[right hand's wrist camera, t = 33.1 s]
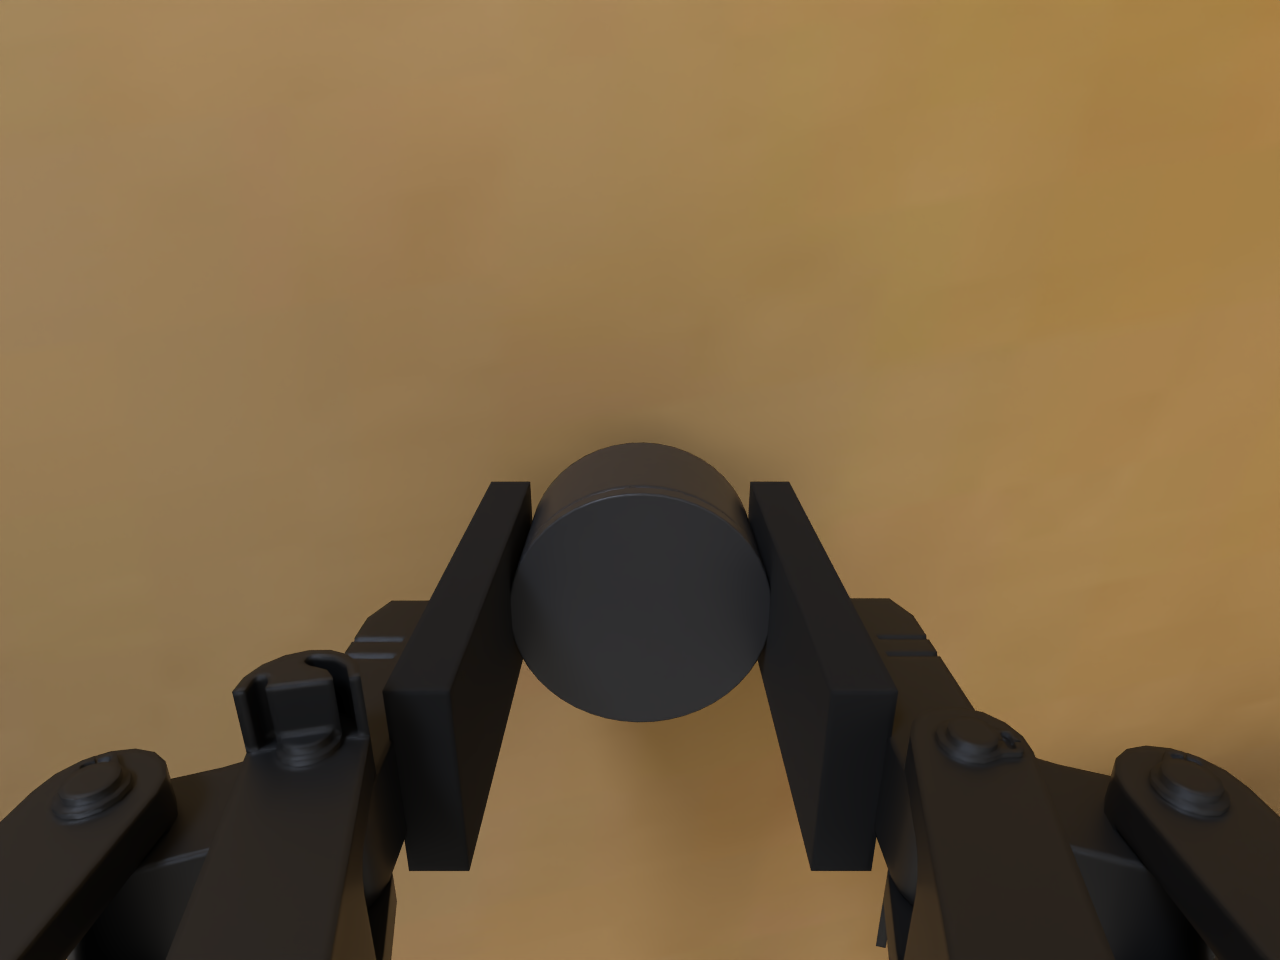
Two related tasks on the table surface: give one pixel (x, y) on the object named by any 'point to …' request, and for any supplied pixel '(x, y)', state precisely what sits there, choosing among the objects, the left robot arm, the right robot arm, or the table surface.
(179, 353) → the table surface
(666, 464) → the cap
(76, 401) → the table surface
